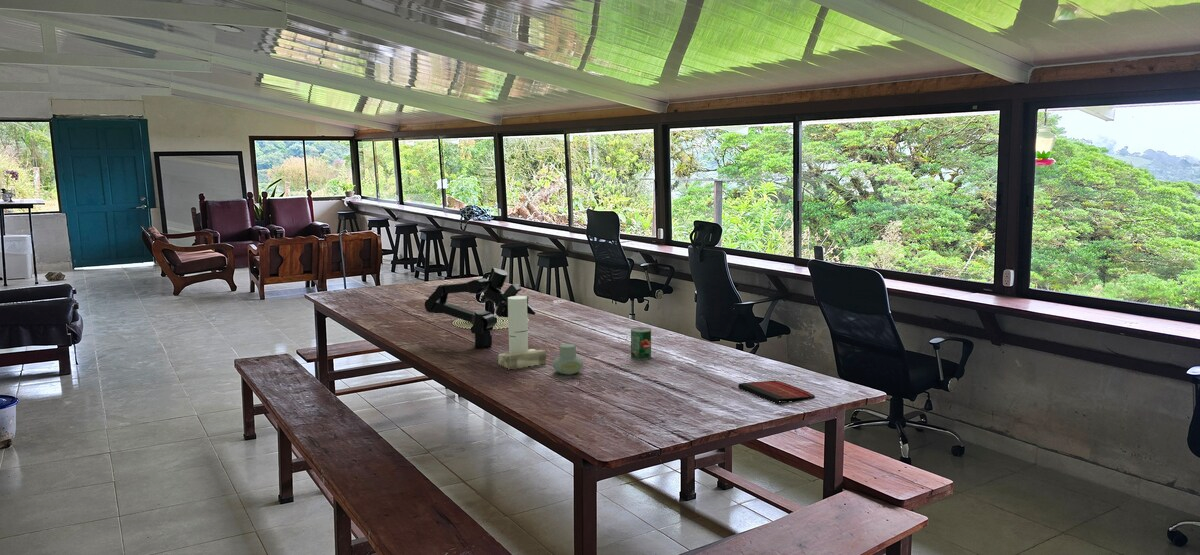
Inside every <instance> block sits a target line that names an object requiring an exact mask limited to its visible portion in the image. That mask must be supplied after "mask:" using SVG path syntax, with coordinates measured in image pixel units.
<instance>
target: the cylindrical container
mask: <svg viewBox="0 0 1200 555" xmlns="http://www.w3.org/2000/svg"><path fill="white" fill-rule="evenodd" d="M507 318H508V319H507V320H508V321H507V322H508V323H507V324H508V325H507V326H508V354H516V353H522V352H528V350H529V333H528V332H529V331H528V330H529V329H528V313H527V297H525V296H522V295H515V296H512V297H508V317H507Z"/></svg>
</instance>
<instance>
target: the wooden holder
mask: <svg viewBox="0 0 1200 555" xmlns="http://www.w3.org/2000/svg"><path fill="white" fill-rule="evenodd" d="M546 355H547V352H546V350H545V349H535V348H530V349H529V348H528V352H522V353H516V354H509V353H507V352H503V353H499V354H498V359H497V360H498V365H499V364H500V365H499V366H501V365H502V366H501V367H503V366H504V367H503V368H505V367H506V368H505V369H507V368H508V370H509V369H513V370H517V369H516V368H519V369H523V368H522V367H525V368H529V367H528V366H531V367H535V366H534V365H537V366H542V365H541V364H543V365H546V364H547V356H546Z"/></svg>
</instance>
